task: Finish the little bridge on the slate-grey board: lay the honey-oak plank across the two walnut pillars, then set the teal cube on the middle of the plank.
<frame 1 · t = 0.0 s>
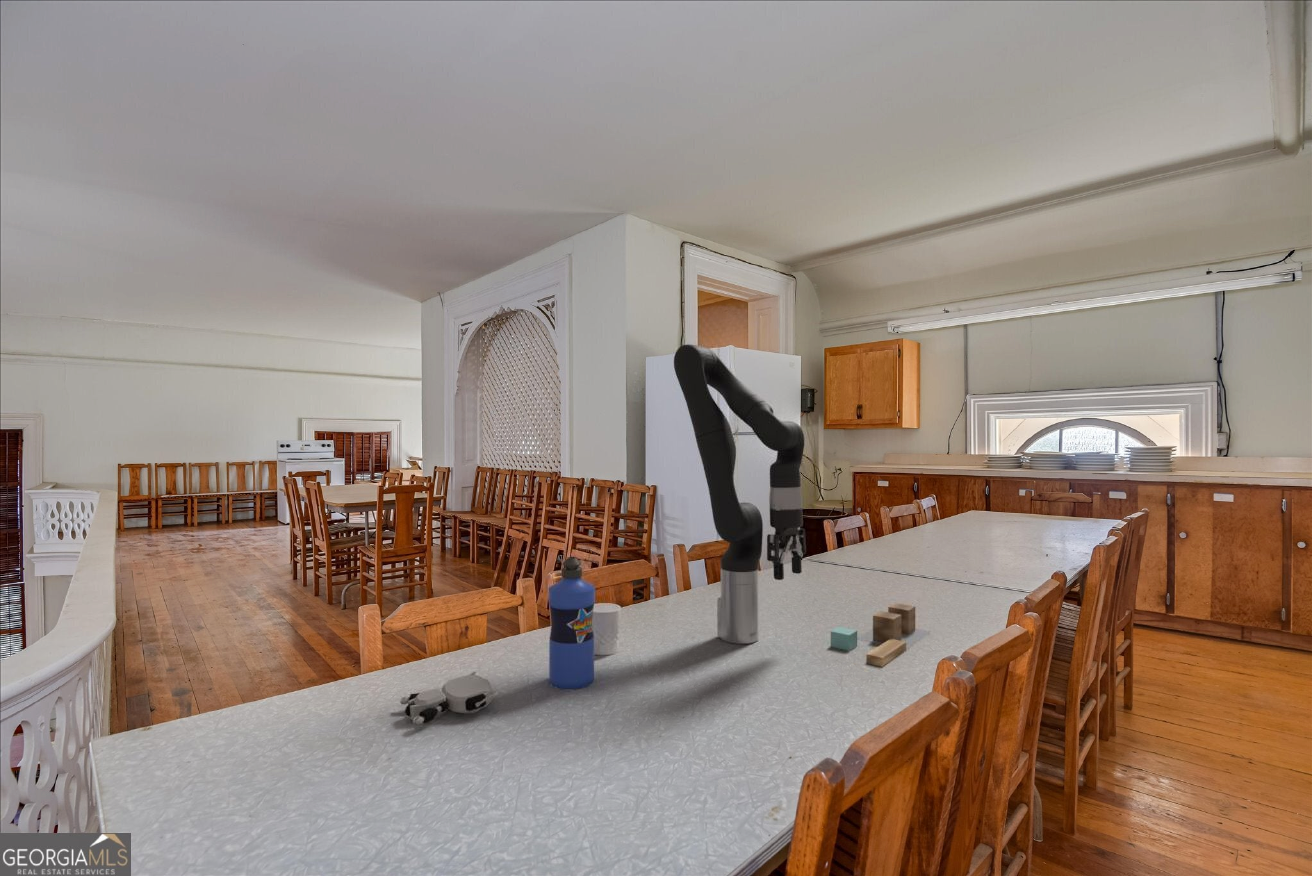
hand: (788, 576, 145), 17 cm above the table, tool pointing down, fingers open, 8 cm apart
plank: (886, 661, 139), on the table
robot toy: (449, 713, 112), on the table
pillar 1: (887, 640, 150), point 1 cm above the table, touching board
cube: (844, 650, 145), on the table
pillar 2: (901, 630, 157), point 1 cm above the table, touching board
board: (894, 638, 154), on the table
water bottle: (571, 681, 127), on the table
white cup: (603, 651, 145), on the table
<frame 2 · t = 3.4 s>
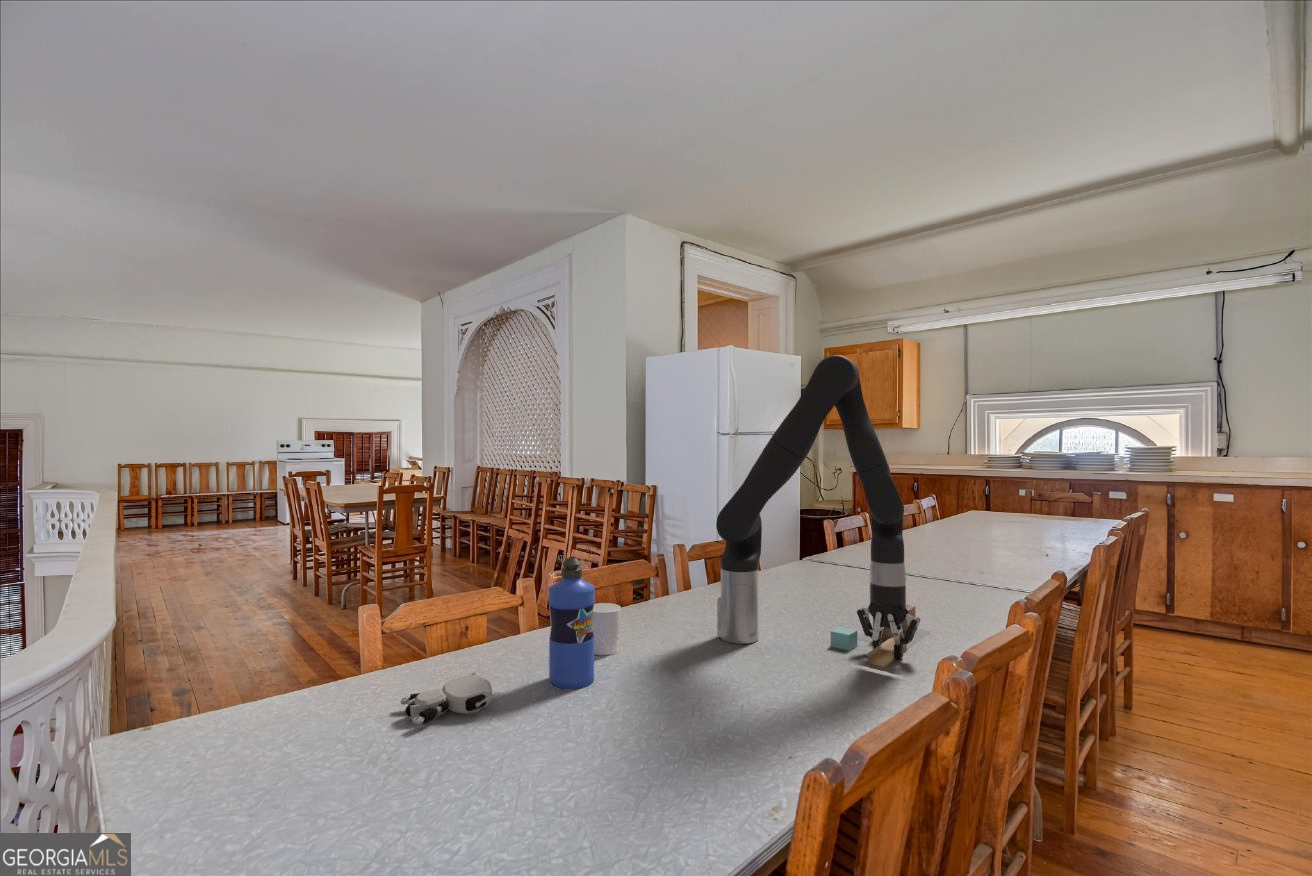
hand: (888, 658, 139), 0 cm above the table, tool pointing down, fingers closed on plank, 3 cm apart
plank: (887, 660, 139), on the table, touching gripper
everything else where it was.
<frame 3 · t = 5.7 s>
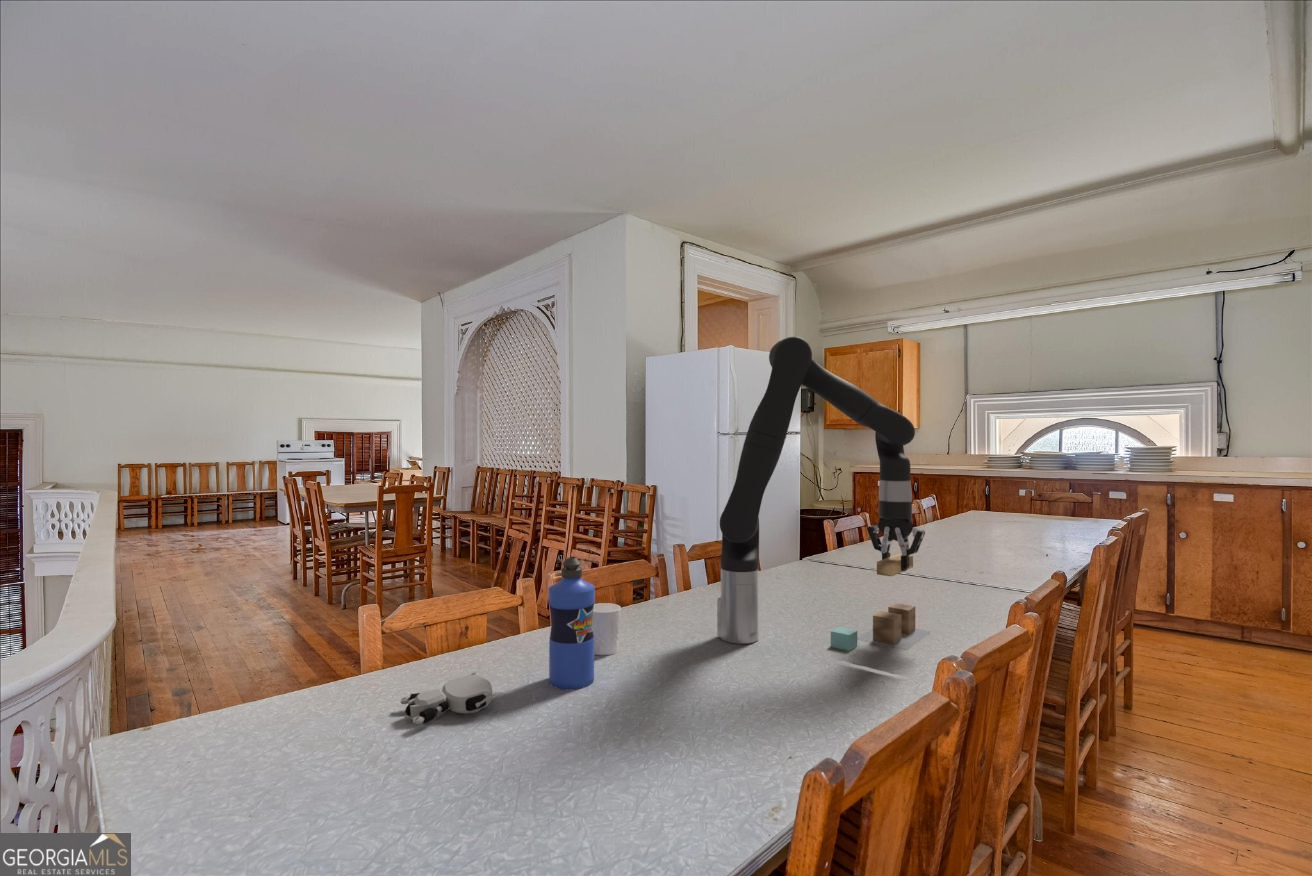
hand: (895, 569, 152), 17 cm above the table, tool pointing down, fingers closed on plank, 3 cm apart
plank: (895, 570, 152), point 17 cm above the table, touching gripper
everything else where it was.
when the fingers open (8 cm above the table, at t = 8.4 s): plank stays where it is, resting on pillar 2, pillar 1.
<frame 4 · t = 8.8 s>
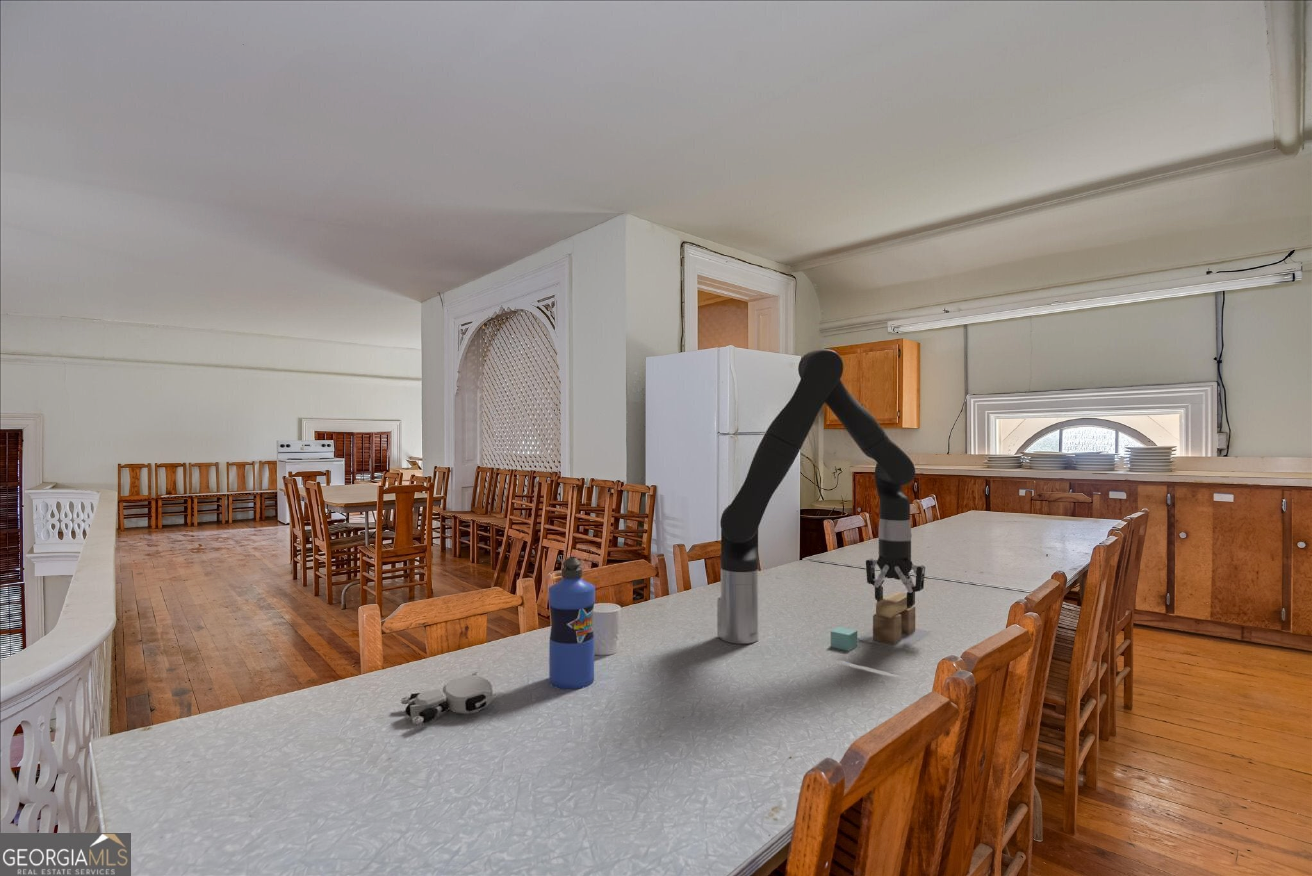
hand: (894, 604, 154), 8 cm above the table, tool pointing down, fingers open, 6 cm apart
plank: (893, 610, 154), point 7 cm above the table, touching pillar 2, pillar 1
pillar 1: (887, 640, 150), point 1 cm above the table, touching board, plank
pillar 2: (901, 630, 157), point 1 cm above the table, touching board, plank
everything else where it was.
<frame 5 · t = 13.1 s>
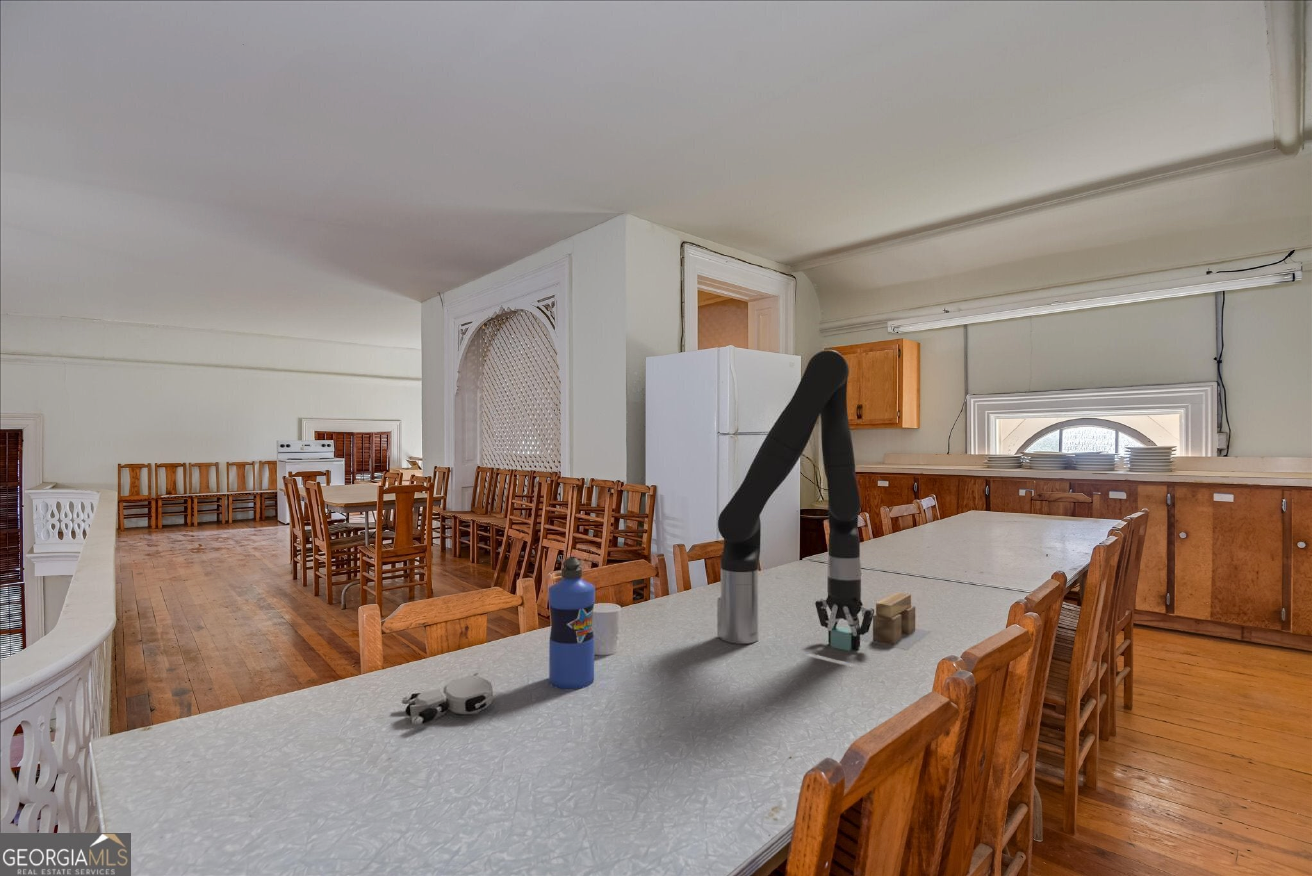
hand: (844, 648, 145), 0 cm above the table, tool pointing down, fingers closed on cube, 4 cm apart
cube: (844, 649, 145), on the table, touching gripper
everything else where it was.
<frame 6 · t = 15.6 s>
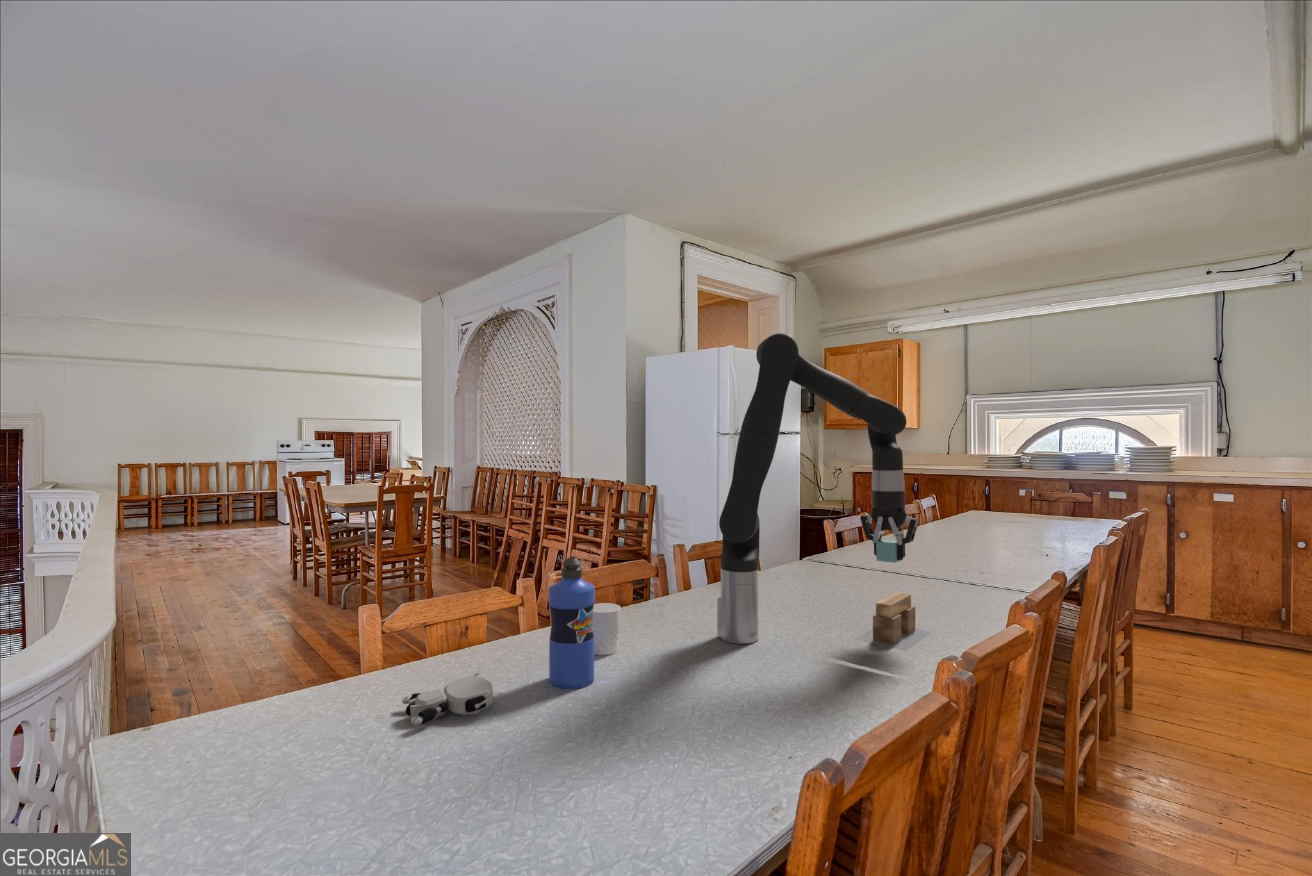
hand: (889, 558, 152), 20 cm above the table, tool pointing down, fingers closed on cube, 4 cm apart
cube: (889, 560, 152), point 20 cm above the table, touching gripper
everything else where it was.
when the fingers open (11 cm above the table, at t = 18.3 s): cube stays where it is, resting on plank.
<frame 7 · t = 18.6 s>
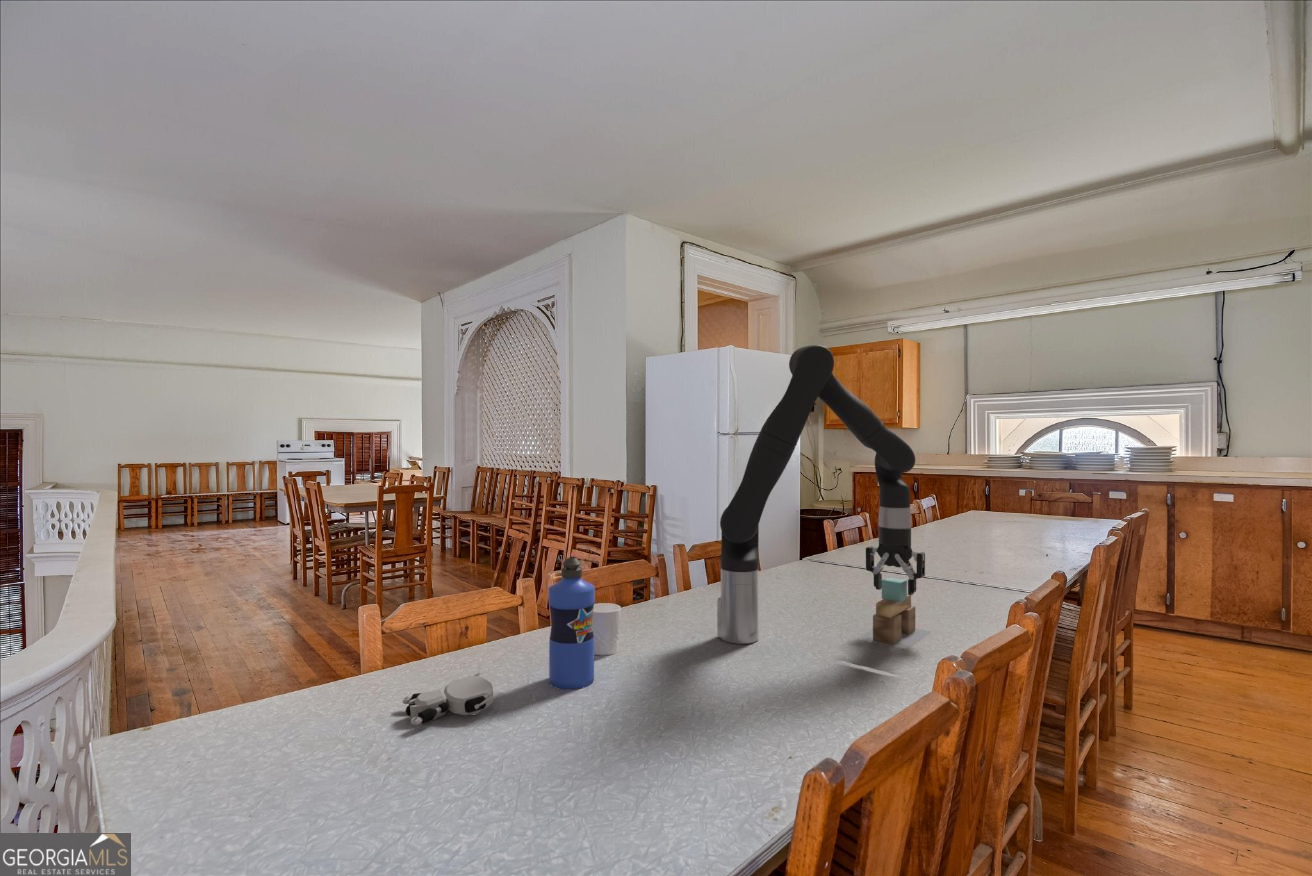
hand: (894, 591, 154), 12 cm above the table, tool pointing down, fingers open, 7 cm apart
plank: (894, 610, 154), point 7 cm above the table, touching cube, pillar 2, pillar 1
cube: (894, 598, 154), point 10 cm above the table, touching plank
everything else where it was.
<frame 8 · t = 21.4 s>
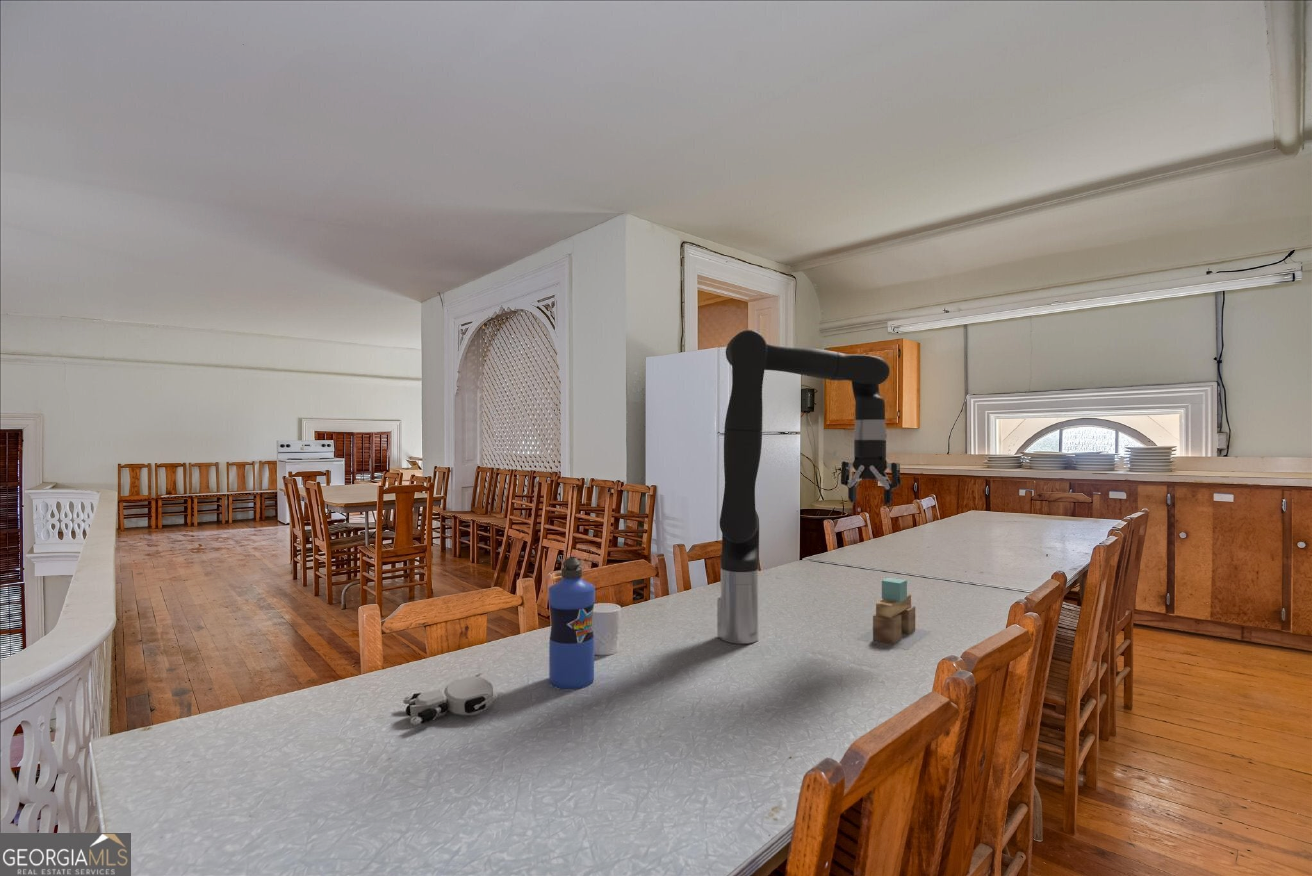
hand: (870, 503, 155), 33 cm above the table, tool pointing down, fingers open, 8 cm apart
nothing on the table moved.
at the end: plank 0.1 cm from the target spot, point 6.8 cm above the table; cube inside the target area (0.1 cm from its centre), point 9.8 cm above the table; the gripper is holding nothing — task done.
